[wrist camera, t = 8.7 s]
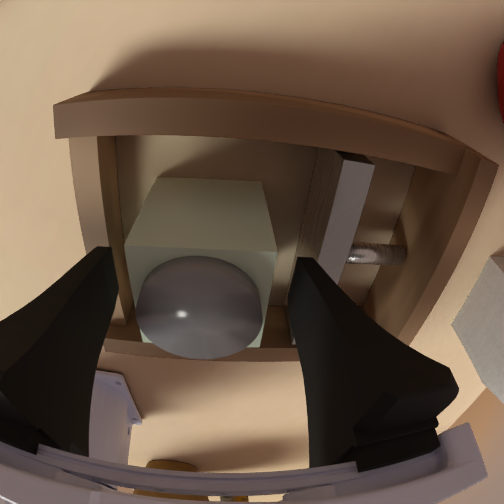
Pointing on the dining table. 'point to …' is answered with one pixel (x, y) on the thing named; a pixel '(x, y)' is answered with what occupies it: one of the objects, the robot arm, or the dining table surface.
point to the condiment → (234, 498)
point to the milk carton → (485, 326)
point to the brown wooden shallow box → (294, 132)
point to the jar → (202, 266)
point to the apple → (501, 80)
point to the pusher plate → (339, 218)
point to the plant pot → (175, 467)
